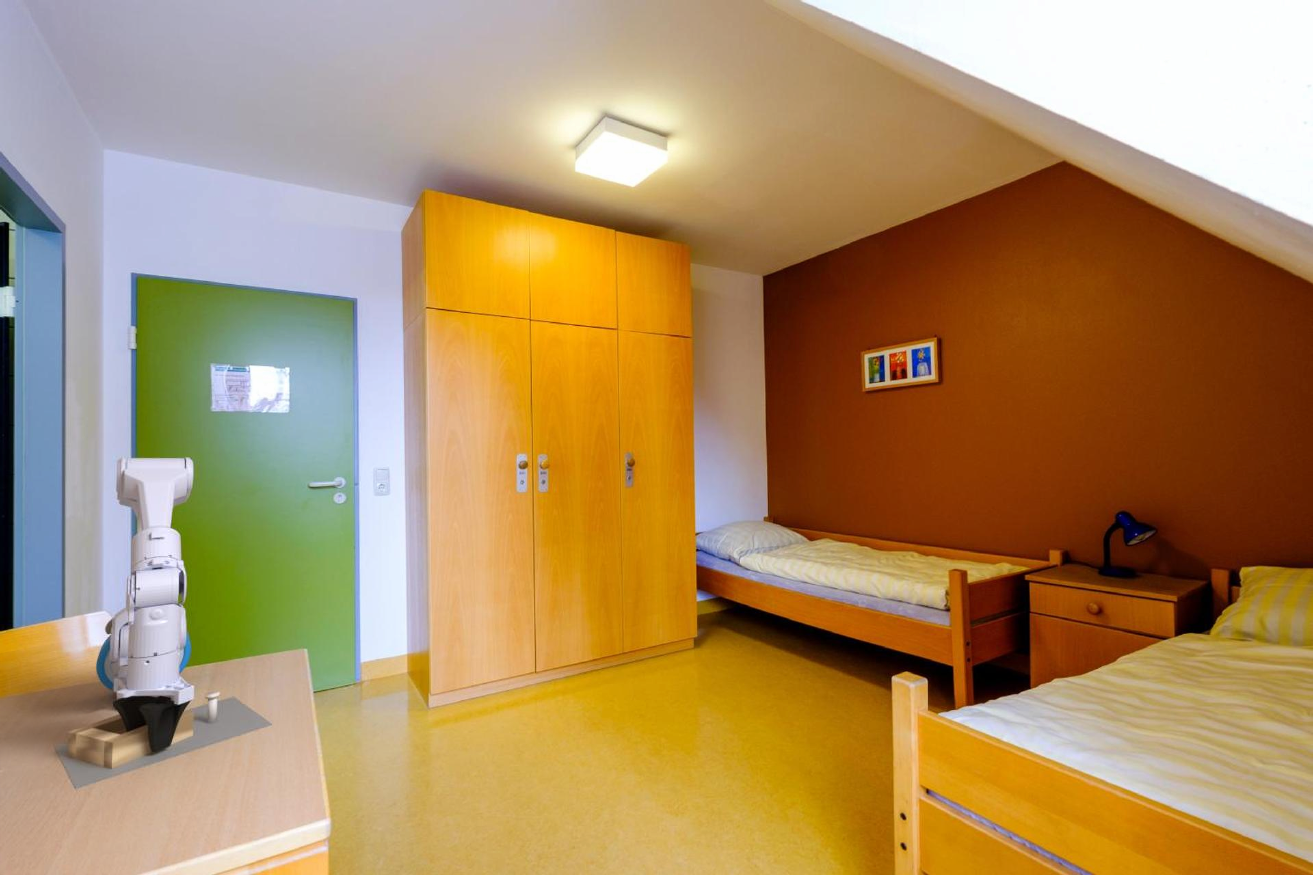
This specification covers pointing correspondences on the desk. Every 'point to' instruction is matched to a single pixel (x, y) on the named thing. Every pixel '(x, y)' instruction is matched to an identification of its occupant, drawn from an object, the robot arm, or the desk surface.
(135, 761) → the slate board
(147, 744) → the oak frame
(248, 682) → the desk surface
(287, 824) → the desk surface
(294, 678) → the desk surface
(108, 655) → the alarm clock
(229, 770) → the desk surface
